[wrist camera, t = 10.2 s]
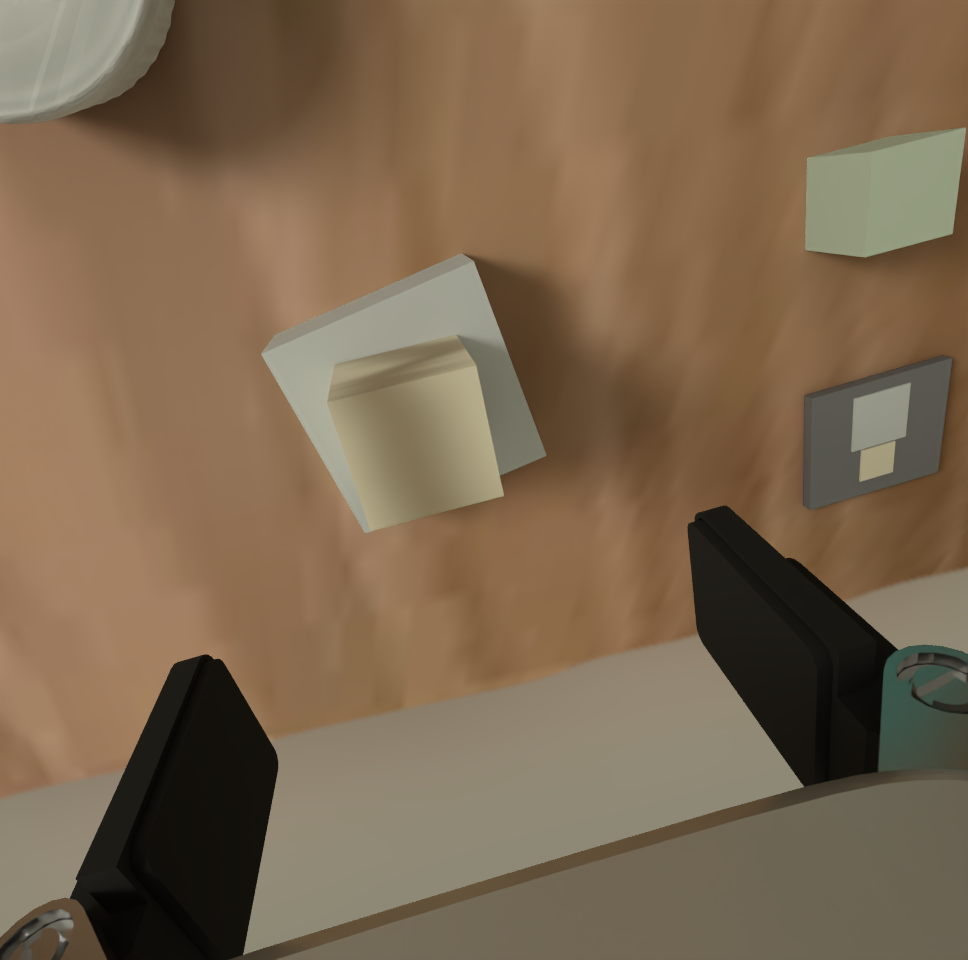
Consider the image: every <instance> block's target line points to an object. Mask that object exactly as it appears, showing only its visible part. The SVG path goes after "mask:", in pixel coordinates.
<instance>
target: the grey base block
mask: <svg viewBox="0 0 968 960" xmlns="http://www.w3.org/2000/svg"><path fill="white" fill-rule="evenodd" d="M452 335H457V337H458V338H459V340H460V341H461V343H462V344H463V346H464V347H465V349H466V350H467V352H468V353H469V355H470V356H471V358H472V360H473V361H474V363H475V364H476V366H477V371H478V376H479V380H480V385H481V390H482V395H483V399H484V404H485V409H486V414H487V418H488V423H489V428H490V432H491V437H492V442H493V447H494V451H495V456H496V461H497V465H498V470H499V475H500V476H501V475H503V474H505V473H508V472H510V471H512V470H515V469H517V468H519V467H522V466H524V465H526V464H529V463H531V462H533V461H536V460H538V459H540V458H543V457H545V456H547V455H546V453H545V450H544V447H543V445H542V442H541V439H540V437H539V434H538V431H537V428H536V426H535V423H534V420H533V418H532V415H531V412H530V410H529V407H528V404H527V402H526V399H525V396H524V394H523V391H522V388H521V386H520V383H519V380H518V378H517V375H516V372H515V370H514V367H513V364H512V362H511V359H510V356H509V354H508V351H507V348H506V346H505V343H504V340H503V338H502V335H501V332H500V330H499V327H498V324H497V322H496V319H495V316H494V314H493V311H492V308H491V306H490V303H489V300H488V298H487V295H486V292H485V290H484V287H483V284H482V282H481V279H480V276H479V274H478V271H477V268H476V266H475V263H474V261H473V260H471V259H470V258H468V257H467V256H465V255H464V254H462V253H461V254H459V255H456V256H454V257H452V258H450V259H447V260H445V261H443V262H440V263H438V264H436V265H434V266H431V267H429V268H427V269H424V270H422V271H420V272H418V273H415V274H413V275H411V276H408V277H406V278H404V279H402V280H399V281H397V282H395V283H392V284H390V285H388V286H386V287H383V288H381V289H379V290H376V291H374V292H372V293H370V294H367V295H365V296H363V297H360V298H358V299H356V300H354V301H351V302H349V303H347V304H344V305H342V306H340V307H338V308H335V309H333V310H331V311H328V312H326V313H324V314H322V315H319V316H317V317H315V318H312V319H310V320H308V321H306V322H303V323H301V324H299V325H296V326H294V327H292V328H290V329H287V330H285V331H283V332H280V333H278V334H276V335H275V336H274V337H273V338H272V340H271V341H270V343H269V344H268V345H267V347H266V348H265V349H264V351H263V352H262V353H261V355H262V357H263V358H264V360H265V362H266V363H267V365H268V367H269V369H270V370H271V372H272V374H273V375H274V377H275V379H276V381H277V382H278V384H279V386H280V388H281V389H282V391H283V393H284V394H285V396H286V398H287V400H288V401H289V403H290V405H291V406H292V408H293V410H294V412H295V413H296V415H297V417H298V419H299V420H300V422H301V424H302V425H303V427H304V429H305V431H306V432H307V434H308V436H309V437H310V439H311V441H312V443H313V444H314V446H315V448H316V450H317V451H318V453H319V455H320V456H321V458H322V460H323V462H324V463H325V465H326V467H327V468H328V470H329V472H330V474H331V475H332V477H333V479H334V481H335V482H336V484H337V486H338V487H339V489H340V491H341V493H342V494H343V496H344V498H345V499H346V501H347V503H348V505H349V506H350V508H351V510H352V512H353V513H354V515H355V517H356V518H357V520H358V522H359V524H360V525H361V527H362V529H363V530H364V532H365V534H366V533H368V532H370V528H369V525H368V522H367V519H366V516H365V513H364V510H363V507H362V504H361V501H360V499H359V496H358V493H357V490H356V487H355V484H354V481H353V478H352V475H351V472H350V469H349V466H348V463H347V460H346V457H345V454H344V451H343V448H342V445H341V443H340V440H339V437H338V434H337V431H336V428H335V425H334V422H333V419H332V416H331V413H330V410H329V407H328V404H327V400H328V395H329V390H330V385H331V380H332V375H333V370H334V365H335V364H338V363H342V362H346V361H350V360H354V359H358V358H363V357H367V356H371V355H375V354H379V353H383V352H387V351H391V350H395V349H399V348H403V347H407V346H412V345H416V344H420V343H424V342H428V341H432V340H436V339H440V338H444V337H448V336H452Z"/></svg>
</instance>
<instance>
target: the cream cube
mask: <svg viewBox="0 0 968 960" xmlns="http://www.w3.org/2000/svg"><path fill="white" fill-rule="evenodd" d="M327 404H328V407H329V410H330V413H331V416H332V419H333V422H334V425H335V428H336V431H337V434H338V437H339V440H340V443H341V445H342V448H343V451H344V454H345V457H346V460H347V463H348V466H349V469H350V472H351V475H352V478H353V481H354V484H355V487H356V490H357V493H358V496H359V499H360V501H361V504H362V507H363V510H364V513H365V516H366V519H367V522H368V525H369V528H370V531H374V530H377V529H381V528H385V527H389V526H393V525H396V524H400V523H404V522H408V521H411V520H415V519H419V518H423V517H426V516H430V515H434V514H438V513H442V512H445V511H449V510H453V509H457V508H460V507H464V506H468V505H472V504H475V503H479V502H483V501H487V500H491V499H494V498H498V497H502V496H504V494H503V489H502V484H501V480H500V475H499V470H498V465H497V461H496V456H495V451H494V447H493V442H492V437H491V432H490V428H489V423H488V418H487V414H486V409H485V404H484V399H483V395H482V390H481V385H480V380H479V376H478V371H477V366H476V364H475V363H474V361H473V360H472V358H471V356H470V355H469V353H468V352H467V350H466V349H465V347H464V346H463V344H462V343H461V341H460V340H459V338H458V337H457V335H452V336H448V337H444V338H440V339H436V340H432V341H428V342H424V343H420V344H416V345H412V346H407V347H403V348H399V349H395V350H391V351H387V352H383V353H379V354H375V355H371V356H367V357H363V358H358V359H354V360H350V361H346V362H342V363H338V364H335V365H334V370H333V375H332V380H331V385H330V390H329V395H328V400H327Z"/></svg>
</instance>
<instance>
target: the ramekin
mask: <svg viewBox="0 0 968 960" xmlns="http://www.w3.org/2000/svg"><path fill="white" fill-rule="evenodd" d="M174 5H175V0H0V123H2V124H26V123H38V122H44V121H49V120H54V119H58V118H61V117H64V116H67V115H70V114H73V113H76V112H78V111H80V110H83V109H87V108H90V107H92V106H94V105H98V104H103V103H105V102H107V101H108V100H110V99H112V98H115V97H118V96H120V95H122V94H123V93H124V92H125V91H127V90H128V89H130V88H132V87H133V86H134V85H135V83H136V82H137V80H138V79H140V78H141V77H143V76H144V75H145V74H146V73H147V71H148V69H149V67H150V66H151V64H152V63H153V62H154V61H155V60H156V59H157V56H158V53H159V51H160V49H161V48H162V46H163V45H164V43H165V40H166V35H167V32H168V30H169V28H170V25H171V14H172V10H173V8H174Z"/></svg>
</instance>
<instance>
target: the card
mask: <svg viewBox="0 0 968 960" xmlns="http://www.w3.org/2000/svg"><path fill="white" fill-rule="evenodd" d="M951 366H952V358H951V357H947V356H944V355H942V356H939V357H935V358H932V359H928V360H925V361H922V362H918V363H915V364H911V365H908V366H904V367H901V368H897V369H894V370H891V371H887V372H884V373H880V374H877V375H873V376H870V377H866V378H863V379H859V380H856V381H853V382H849V383H846V384H842V385H839V386H835V387H832V388H828V389H825V390H822V391H818V392H815V393H811V394H808V395H805V411H804V496H803V506H805V507H806V508H808V509H809V510H812V509H816V508H819V507H822V506H826V505H829V504H833V503H836V502H839V501H843V500H846V499H849V498H853V497H856V496H859V495H863V494H866V493H869V492H873V491H876V490H879V489H883V488H886V487H889V486H893V485H896V484H900V483H903V482H906V481H910V480H913V479H916V478H920V477H923V476H926V475H930V474H933V473H936V472H938V467H939V460H940V452H941V444H942V436H943V428H944V420H945V413H946V405H947V397H948V389H949V381H950V374H951Z"/></svg>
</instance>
